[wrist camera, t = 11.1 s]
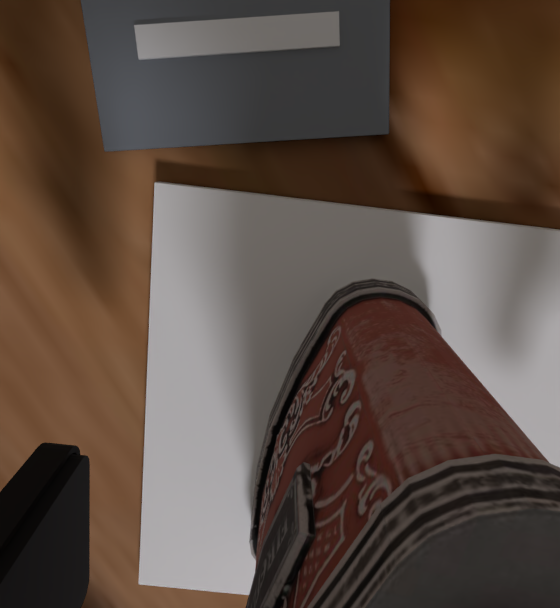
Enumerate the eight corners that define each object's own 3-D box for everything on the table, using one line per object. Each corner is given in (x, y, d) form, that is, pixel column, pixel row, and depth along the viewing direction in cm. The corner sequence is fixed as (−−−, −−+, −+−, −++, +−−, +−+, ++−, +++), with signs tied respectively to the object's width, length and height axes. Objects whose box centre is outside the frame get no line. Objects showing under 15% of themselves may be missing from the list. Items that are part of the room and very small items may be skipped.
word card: (387, -88, 9) (391, -98, 9) (385, 134, 10) (390, 133, 10) (76, -66, 9) (67, -75, 9) (109, 151, 11) (102, 151, 10)
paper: (812, 259, 11) (831, 263, 11) (650, 622, 14) (659, 635, 14) (159, 181, 11) (154, 182, 10) (142, 572, 14) (138, 584, 14)
